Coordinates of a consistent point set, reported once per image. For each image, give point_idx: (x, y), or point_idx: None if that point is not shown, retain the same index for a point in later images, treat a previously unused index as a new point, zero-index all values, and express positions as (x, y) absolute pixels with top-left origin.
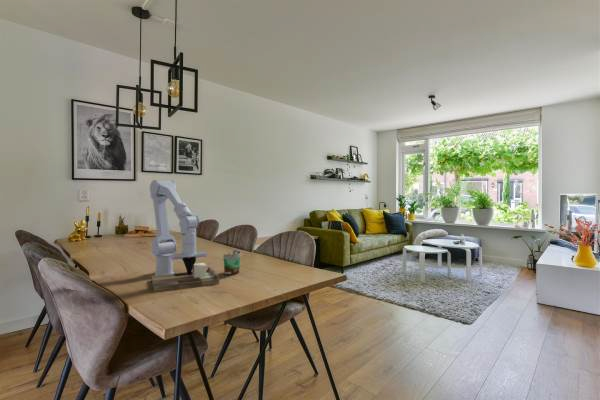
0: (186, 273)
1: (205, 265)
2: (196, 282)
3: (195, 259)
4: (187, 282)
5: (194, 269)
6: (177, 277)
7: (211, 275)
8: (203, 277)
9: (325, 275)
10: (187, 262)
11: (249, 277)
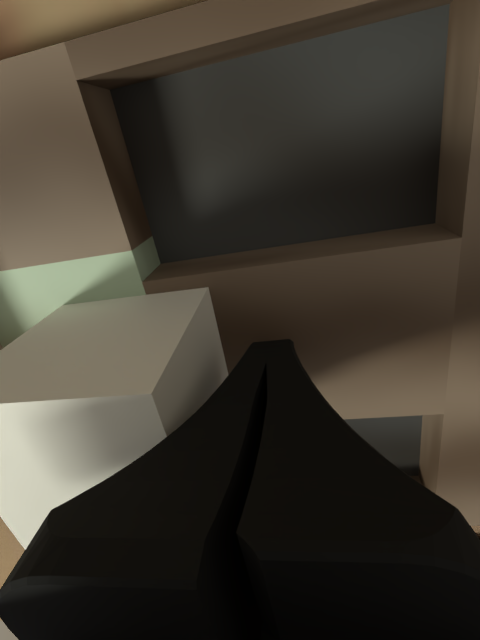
0: None
1: None
2: (158, 20)
3: (12, 577)
4: (314, 9)
5: (169, 351)
6: (423, 373)
7: (9, 333)
8: (87, 271)
9: None
10: (324, 493)
11: None
